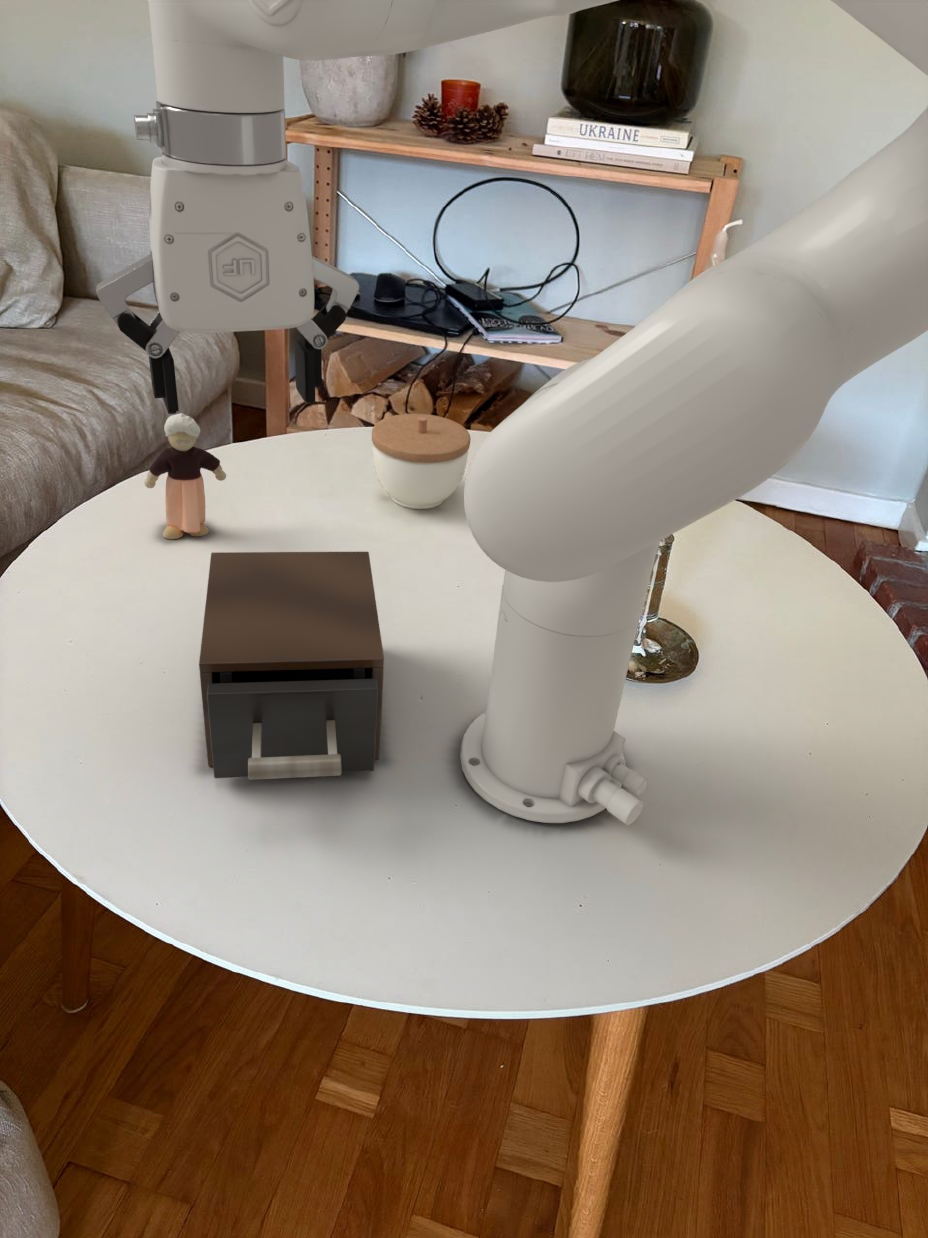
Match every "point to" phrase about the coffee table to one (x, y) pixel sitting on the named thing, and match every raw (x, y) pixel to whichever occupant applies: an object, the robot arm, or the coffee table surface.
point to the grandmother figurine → (184, 477)
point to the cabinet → (290, 618)
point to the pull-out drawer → (292, 723)
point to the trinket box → (419, 458)
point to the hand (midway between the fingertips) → (239, 401)
